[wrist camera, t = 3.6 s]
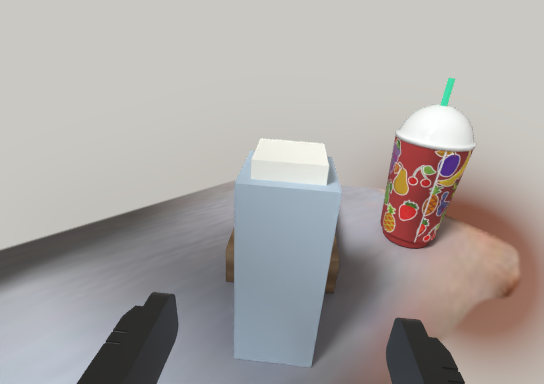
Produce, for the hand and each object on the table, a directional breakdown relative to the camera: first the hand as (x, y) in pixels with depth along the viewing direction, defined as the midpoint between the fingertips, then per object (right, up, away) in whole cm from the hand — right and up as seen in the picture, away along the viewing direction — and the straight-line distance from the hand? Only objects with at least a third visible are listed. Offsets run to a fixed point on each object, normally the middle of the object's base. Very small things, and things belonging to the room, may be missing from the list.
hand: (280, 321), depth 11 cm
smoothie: (+18, -1, +30) cm, 34 cm away
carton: (0, -7, +15) cm, 17 cm away
